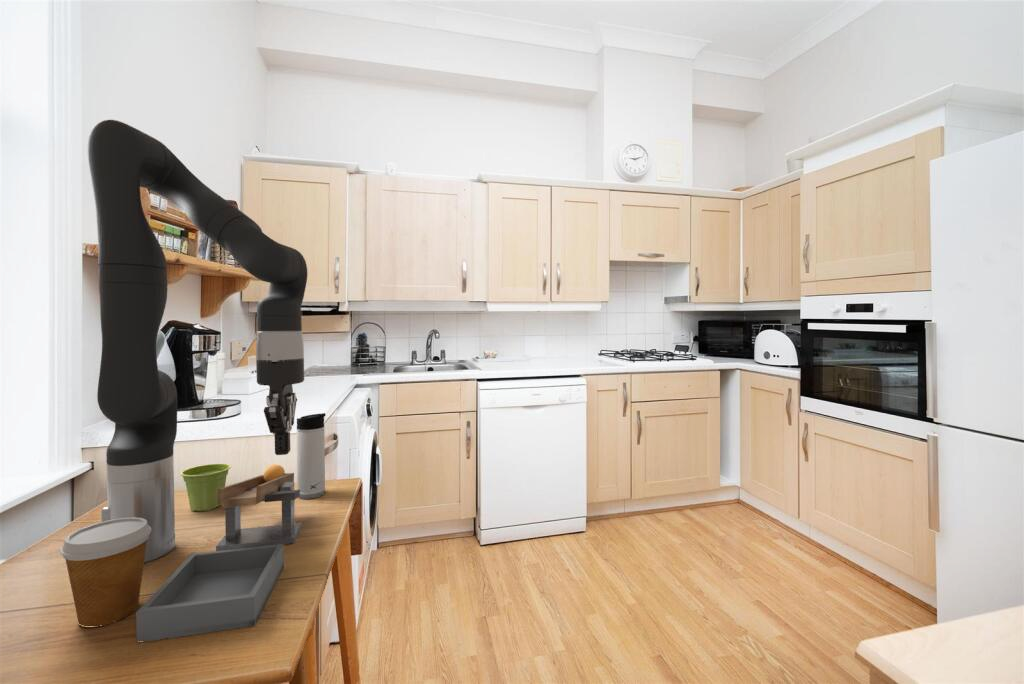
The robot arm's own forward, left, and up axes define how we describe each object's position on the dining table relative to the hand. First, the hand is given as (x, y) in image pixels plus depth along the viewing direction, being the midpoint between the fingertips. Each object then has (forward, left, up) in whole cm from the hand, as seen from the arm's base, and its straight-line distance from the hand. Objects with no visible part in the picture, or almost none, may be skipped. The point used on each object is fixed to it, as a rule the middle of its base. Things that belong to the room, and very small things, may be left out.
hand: (282, 453), depth 79 cm
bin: (-6, -13, -18) cm, 23 cm away
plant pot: (-23, +29, -18) cm, 41 cm away
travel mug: (-1, +31, -18) cm, 36 cm away
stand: (-6, +8, -18) cm, 21 cm away
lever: (-3, +7, -12) cm, 14 cm away
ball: (-6, +17, -9) cm, 20 cm away
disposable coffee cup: (-20, -12, -18) cm, 30 cm away
